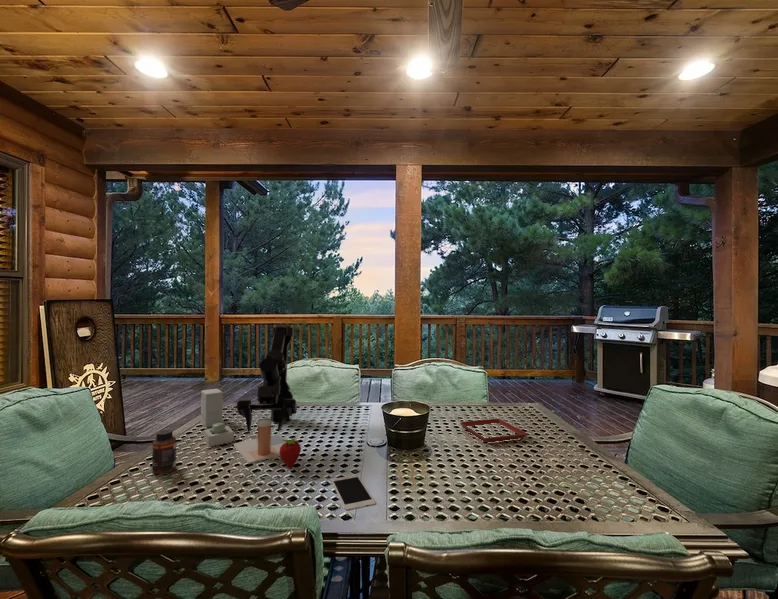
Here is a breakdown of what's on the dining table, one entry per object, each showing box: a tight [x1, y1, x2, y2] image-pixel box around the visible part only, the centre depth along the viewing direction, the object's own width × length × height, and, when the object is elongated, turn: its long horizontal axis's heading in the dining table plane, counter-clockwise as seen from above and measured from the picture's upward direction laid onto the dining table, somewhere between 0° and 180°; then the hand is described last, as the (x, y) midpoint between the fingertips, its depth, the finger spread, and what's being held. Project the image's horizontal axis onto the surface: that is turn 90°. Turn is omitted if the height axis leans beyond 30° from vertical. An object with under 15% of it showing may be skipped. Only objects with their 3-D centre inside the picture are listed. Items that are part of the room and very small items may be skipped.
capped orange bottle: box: [257, 417, 272, 456], centre depth 119 cm, size 4×4×10 cm
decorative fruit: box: [279, 434, 302, 469], centre depth 110 cm, size 6×8×10 cm
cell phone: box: [330, 474, 377, 511], centre depth 97 cm, size 8×16×1 cm, turn 21°
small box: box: [200, 388, 224, 428], centre depth 148 cm, size 8×6×13 cm
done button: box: [211, 422, 226, 434], centre depth 130 cm, size 4×4×4 cm
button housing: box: [203, 425, 235, 448], centre depth 130 cm, size 8×8×4 cm
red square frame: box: [459, 418, 528, 442], centre depth 139 cm, size 18×18×3 cm
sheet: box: [232, 433, 286, 465], centre depth 124 cm, size 16×18×1 cm
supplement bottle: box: [151, 429, 177, 475], centre depth 107 cm, size 6×6×11 cm
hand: (263, 431), depth 118 cm, fingers open, 9 cm apart
